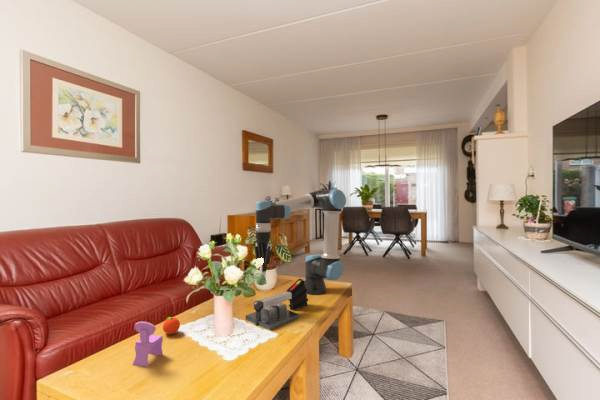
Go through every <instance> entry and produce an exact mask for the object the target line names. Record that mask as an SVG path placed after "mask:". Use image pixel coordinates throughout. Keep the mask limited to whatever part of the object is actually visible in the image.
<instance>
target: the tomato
mask: <svg viewBox="0 0 600 400" xmlns="http://www.w3.org/2000/svg"><path fill="white" fill-rule="evenodd" d="M180 327H181V323H180V320H179V319H178V318H177V317H175V316H173V317H171V316H168V317H166V318H165V319H164V321H163V324H162V330H163V332H164V333H165V334H167V335H174V334H176V333H177V332H178V330H179V329H180Z"/></svg>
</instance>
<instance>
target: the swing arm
mask: <svg viewBox="0 0 600 400" xmlns="http://www.w3.org/2000/svg"><path fill="white" fill-rule="evenodd" d="M289 299H292V293H290V292H287V290H286V291H282V292H279V293H276V294H274V295H270V296H268V297H264V298H262V299H258V300H255V301H254V302H253V310H255V311H256V310H261V309H262V308H263V309H264V308H267V307H270V306H272V305H275V304H278V303H283V302H286V301H287V302H288V301H290V300H289Z"/></svg>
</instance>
